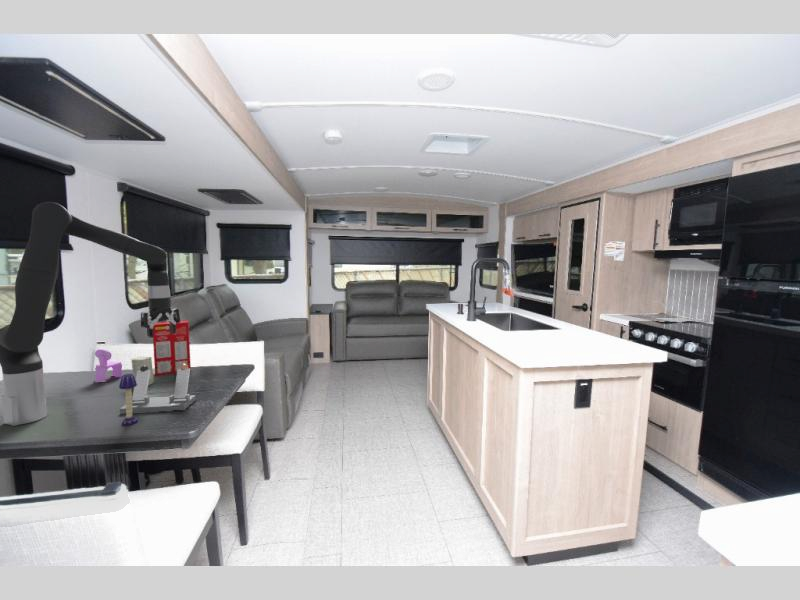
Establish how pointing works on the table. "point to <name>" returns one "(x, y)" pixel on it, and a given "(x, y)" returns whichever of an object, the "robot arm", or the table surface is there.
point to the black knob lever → (141, 384)
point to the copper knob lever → (182, 382)
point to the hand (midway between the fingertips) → (162, 335)
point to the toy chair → (106, 366)
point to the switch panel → (160, 404)
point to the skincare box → (140, 362)
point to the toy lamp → (128, 397)
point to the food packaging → (171, 347)
